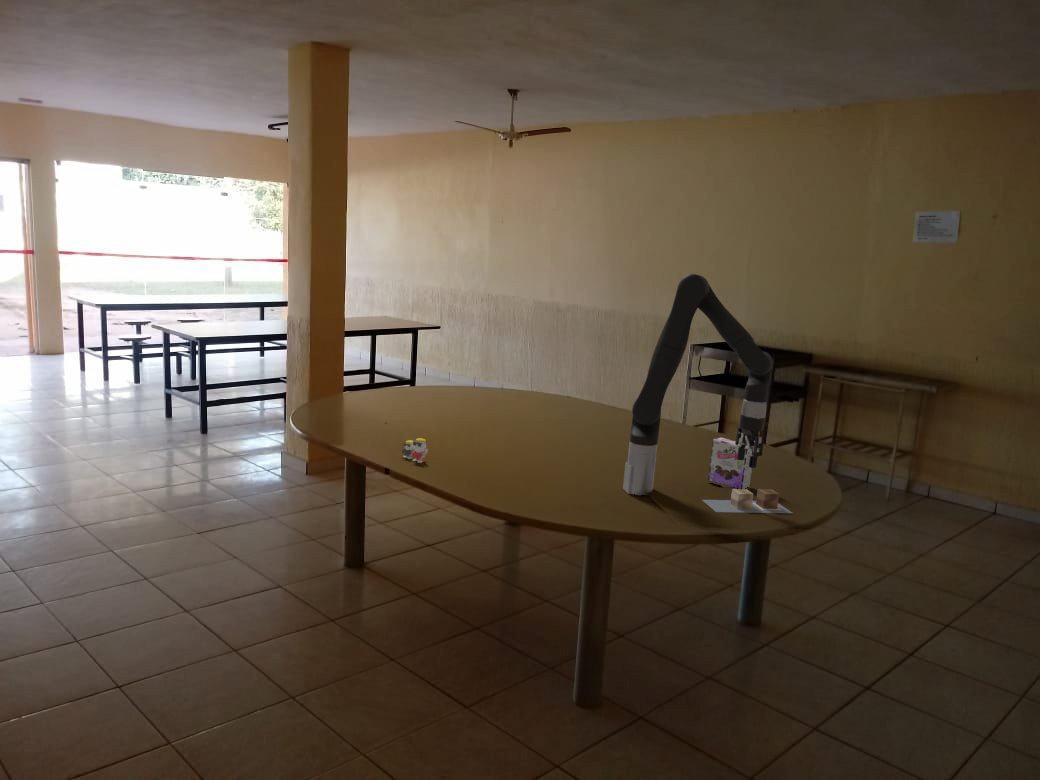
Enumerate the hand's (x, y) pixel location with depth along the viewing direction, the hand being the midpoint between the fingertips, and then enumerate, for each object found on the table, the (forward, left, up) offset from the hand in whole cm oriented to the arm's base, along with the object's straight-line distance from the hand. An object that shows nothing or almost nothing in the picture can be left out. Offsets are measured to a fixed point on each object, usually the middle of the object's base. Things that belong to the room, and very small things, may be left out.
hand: (746, 463), depth 253 cm
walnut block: (+9, 0, -14) cm, 17 cm away
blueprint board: (+2, 0, -15) cm, 16 cm away
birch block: (0, 0, -14) cm, 14 cm away
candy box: (+7, +25, -16) cm, 30 cm away
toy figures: (-103, +51, -16) cm, 116 cm away
